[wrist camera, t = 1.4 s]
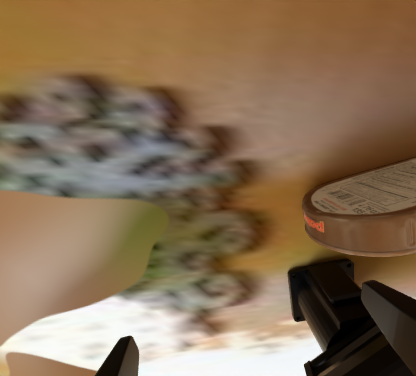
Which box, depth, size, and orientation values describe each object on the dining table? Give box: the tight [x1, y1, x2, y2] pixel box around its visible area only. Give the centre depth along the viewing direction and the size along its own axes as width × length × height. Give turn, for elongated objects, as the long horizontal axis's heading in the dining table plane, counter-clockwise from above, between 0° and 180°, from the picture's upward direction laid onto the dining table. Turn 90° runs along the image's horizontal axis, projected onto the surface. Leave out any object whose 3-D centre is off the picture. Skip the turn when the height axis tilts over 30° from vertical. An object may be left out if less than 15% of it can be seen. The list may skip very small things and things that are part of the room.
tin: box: [302, 157, 416, 257], centre depth 16 cm, size 15×3×8 cm, turn 107°
